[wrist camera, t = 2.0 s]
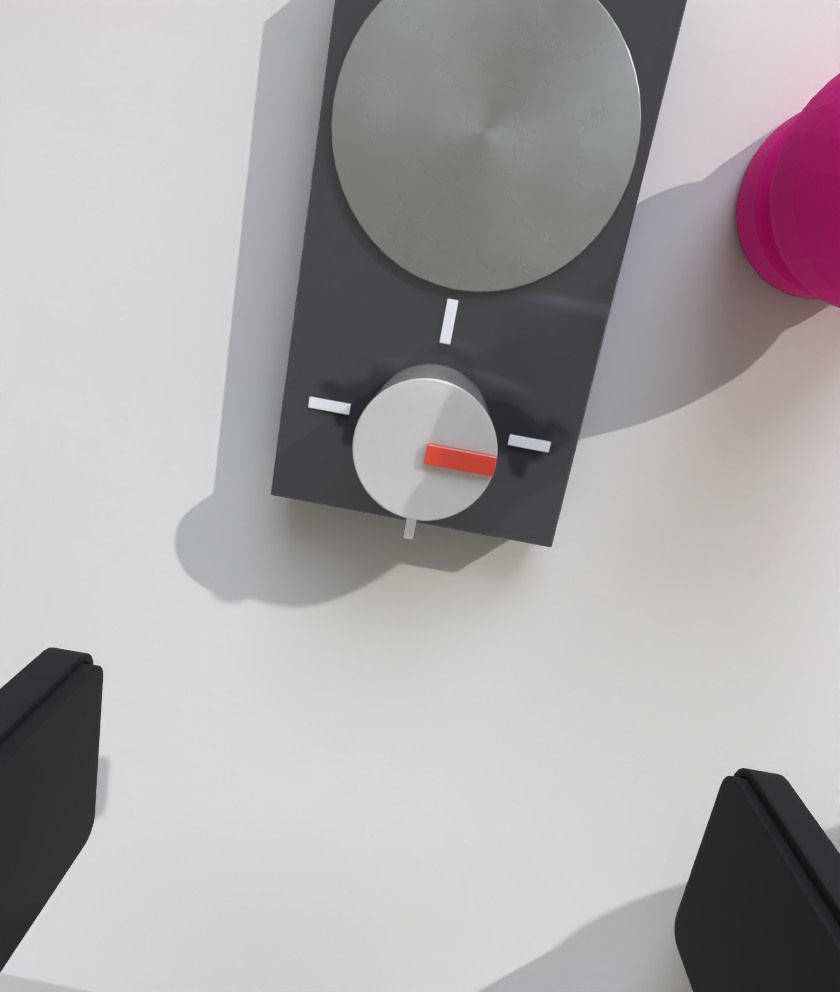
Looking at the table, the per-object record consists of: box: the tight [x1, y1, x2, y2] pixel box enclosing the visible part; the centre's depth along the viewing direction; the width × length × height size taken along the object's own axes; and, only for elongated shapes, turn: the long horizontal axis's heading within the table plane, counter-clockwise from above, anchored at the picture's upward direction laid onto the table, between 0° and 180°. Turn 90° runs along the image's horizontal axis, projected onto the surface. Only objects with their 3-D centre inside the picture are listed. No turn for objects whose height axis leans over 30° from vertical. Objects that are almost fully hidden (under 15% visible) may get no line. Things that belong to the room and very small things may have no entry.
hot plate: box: [271, 0, 687, 547], centre depth 24 cm, size 19×10×3 cm, turn 170°
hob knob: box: [352, 364, 498, 521], centre depth 21 cm, size 4×4×5 cm
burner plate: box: [331, 0, 641, 292], centre depth 21 cm, size 9×9×1 cm
